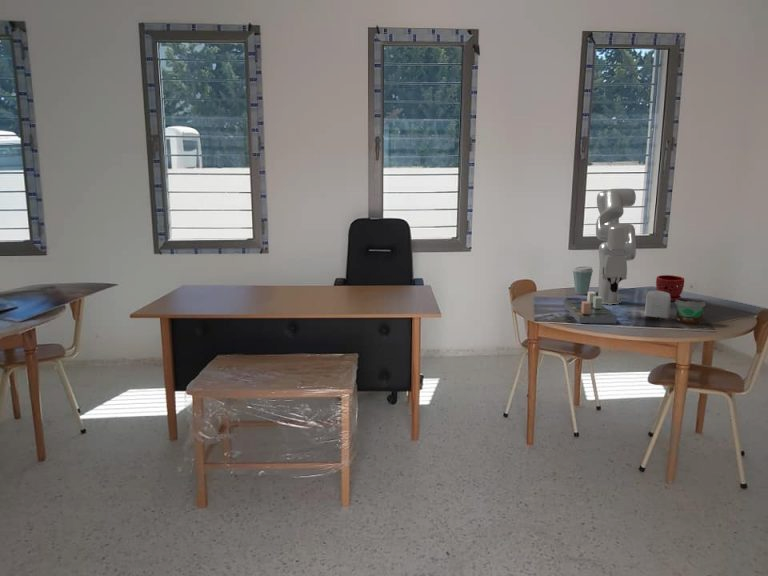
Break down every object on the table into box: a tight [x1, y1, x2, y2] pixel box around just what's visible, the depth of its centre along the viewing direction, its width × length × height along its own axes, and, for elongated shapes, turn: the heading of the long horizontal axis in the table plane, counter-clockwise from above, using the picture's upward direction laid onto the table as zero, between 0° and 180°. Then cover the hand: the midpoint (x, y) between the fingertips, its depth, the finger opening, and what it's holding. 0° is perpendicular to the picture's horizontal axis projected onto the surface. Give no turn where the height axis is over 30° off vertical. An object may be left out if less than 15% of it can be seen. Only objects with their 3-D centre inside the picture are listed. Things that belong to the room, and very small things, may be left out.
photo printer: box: [644, 290, 672, 319], centre depth 264 cm, size 10×4×12 cm, turn 56°
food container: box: [674, 299, 707, 325], centre depth 253 cm, size 12×6×10 cm, turn 70°
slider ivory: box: [586, 291, 597, 303], centre depth 282 cm, size 3×4×5 cm, turn 174°
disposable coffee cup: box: [572, 265, 594, 296], centre depth 317 cm, size 11×11×15 cm
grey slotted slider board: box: [563, 299, 617, 325], centre depth 272 cm, size 16×34×3 cm, turn 174°
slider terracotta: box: [581, 300, 591, 314], centre depth 261 cm, size 3×4×5 cm, turn 174°
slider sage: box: [593, 295, 603, 309], centre depth 271 cm, size 3×4×5 cm, turn 174°
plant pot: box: [655, 274, 685, 302], centre depth 298 cm, size 13×13×12 cm
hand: (613, 291), depth 268 cm, fingers closed
